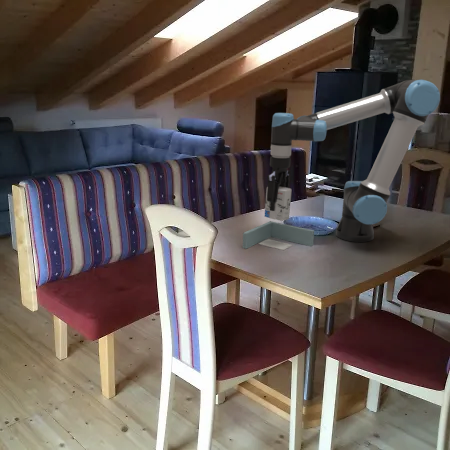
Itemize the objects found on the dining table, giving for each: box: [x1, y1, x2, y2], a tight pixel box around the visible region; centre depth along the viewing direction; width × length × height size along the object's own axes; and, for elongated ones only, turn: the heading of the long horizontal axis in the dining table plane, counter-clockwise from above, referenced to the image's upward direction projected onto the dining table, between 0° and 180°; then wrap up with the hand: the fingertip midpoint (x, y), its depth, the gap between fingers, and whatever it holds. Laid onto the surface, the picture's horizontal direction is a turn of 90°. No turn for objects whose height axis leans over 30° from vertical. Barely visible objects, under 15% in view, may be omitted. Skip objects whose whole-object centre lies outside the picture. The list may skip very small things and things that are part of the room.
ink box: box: [264, 186, 292, 222], centre depth 190 cm, size 9×5×12 cm, turn 51°
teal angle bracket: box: [242, 220, 315, 249], centre depth 193 cm, size 20×20×6 cm
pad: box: [258, 238, 293, 251], centre depth 195 cm, size 11×7×1 cm, turn 54°
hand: (276, 216), depth 192 cm, fingers closed on ink box, 5 cm apart
